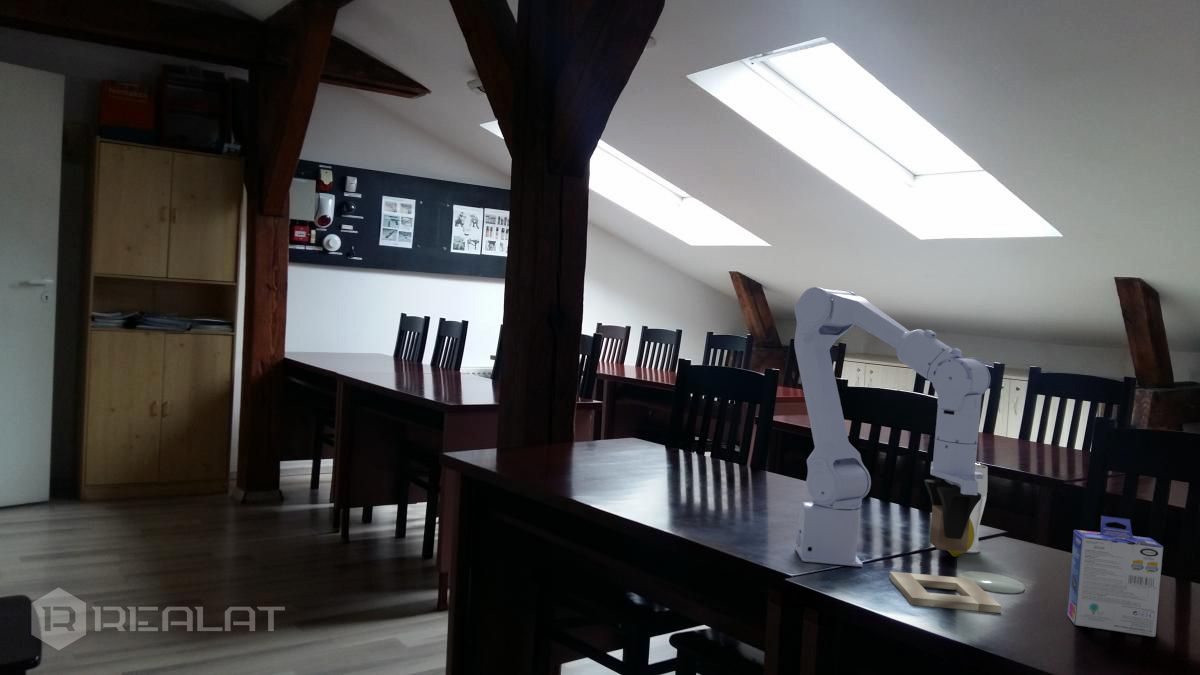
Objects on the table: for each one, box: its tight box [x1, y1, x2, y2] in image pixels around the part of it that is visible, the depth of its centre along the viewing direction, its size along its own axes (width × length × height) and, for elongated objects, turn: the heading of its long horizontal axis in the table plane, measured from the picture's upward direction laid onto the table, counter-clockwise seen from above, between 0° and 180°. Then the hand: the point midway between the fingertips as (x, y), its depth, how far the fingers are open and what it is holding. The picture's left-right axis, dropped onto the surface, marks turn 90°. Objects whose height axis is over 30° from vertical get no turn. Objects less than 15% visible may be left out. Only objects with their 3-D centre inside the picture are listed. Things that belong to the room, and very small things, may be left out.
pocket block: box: [888, 570, 1002, 614], centre depth 124 cm, size 12×12×1 cm
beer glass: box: [964, 462, 989, 554], centre depth 151 cm, size 7×7×15 cm
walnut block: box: [929, 505, 970, 552], centre depth 124 cm, size 4×4×6 cm
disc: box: [959, 571, 1025, 594], centre depth 132 cm, size 9×9×1 cm
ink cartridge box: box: [1067, 515, 1164, 638], centre depth 116 cm, size 10×6×14 cm, turn 74°
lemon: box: [946, 520, 974, 558], centre depth 146 cm, size 6×6×8 cm
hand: (948, 533), depth 124 cm, fingers closed on walnut block, 4 cm apart
